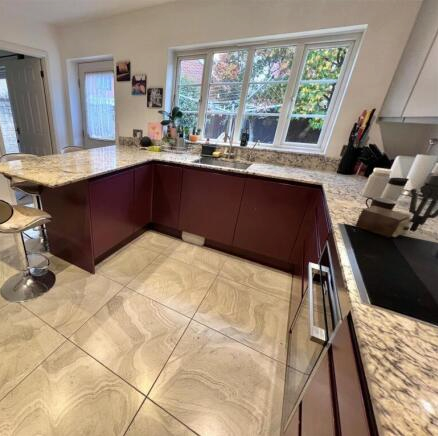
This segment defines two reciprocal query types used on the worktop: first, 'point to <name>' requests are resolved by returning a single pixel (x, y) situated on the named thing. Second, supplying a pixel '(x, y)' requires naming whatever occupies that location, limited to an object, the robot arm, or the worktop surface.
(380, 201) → the coffee mug
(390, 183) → the travel mug
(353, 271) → the worktop surface
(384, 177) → the jar
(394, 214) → the cabinet
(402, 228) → the drawer
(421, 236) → the worktop surface
